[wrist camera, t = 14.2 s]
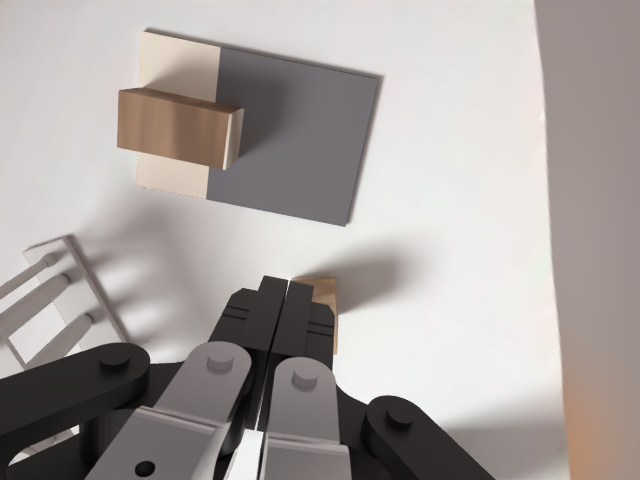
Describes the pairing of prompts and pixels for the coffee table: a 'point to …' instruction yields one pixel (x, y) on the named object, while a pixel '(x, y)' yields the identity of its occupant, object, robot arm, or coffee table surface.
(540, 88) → the coffee table surface
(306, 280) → the oak block
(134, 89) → the walnut block
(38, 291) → the test tube rack
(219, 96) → the mat
